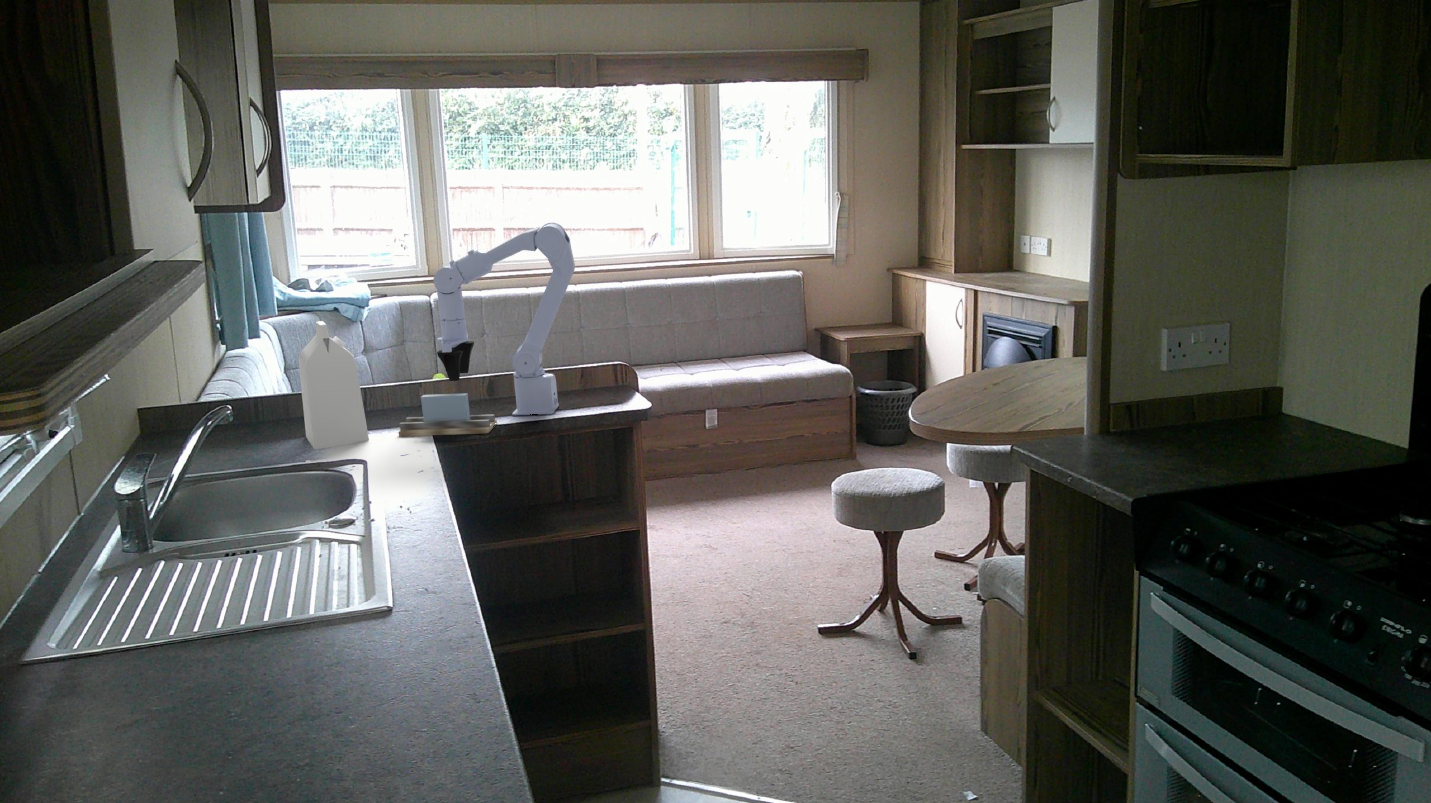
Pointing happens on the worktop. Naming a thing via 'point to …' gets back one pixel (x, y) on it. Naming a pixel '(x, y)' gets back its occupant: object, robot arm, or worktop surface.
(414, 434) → the track board
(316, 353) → the milk
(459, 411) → the door panel
